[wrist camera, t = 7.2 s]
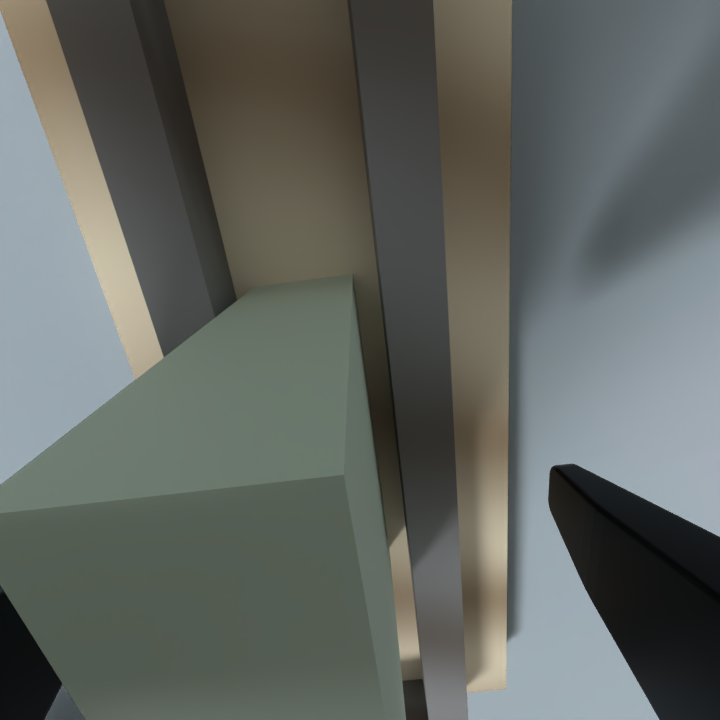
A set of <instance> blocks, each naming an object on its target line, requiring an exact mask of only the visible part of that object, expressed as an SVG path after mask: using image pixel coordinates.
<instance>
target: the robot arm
mask: <svg viewBox="0 0 720 720" xmlns="http://www.w3.org/2000/svg"><path fill="white" fill-rule="evenodd" d="M548 502H549V508H550V511H551V513H552V516H553V518H554V520H555V522H556V525H557V527H558V529H559V531H560V534H561V536H562V538H563V540H564V543H565V545H566V547H567V549H568V552H569V554H570V556H571V558H572V561H573V563H574V565H575V567H576V570H577V572H578V574H579V576H580V578H581V581H582V583H583V585H584V587H585V589H586V591H587V593H588V595H589V596H590V598H591V600H592V602H593V604H594V606H595V607H596V609H597V611H598V613H599V614H600V616H601V618H602V620H603V621H604V623H605V625H606V627H607V628H608V630H609V632H610V634H611V635H612V637H613V639H614V641H615V642H616V644H617V646H618V648H619V649H620V651H621V653H622V655H623V656H624V658H625V660H626V662H627V663H628V665H629V667H630V669H631V670H632V672H633V674H634V676H635V677H636V679H637V681H638V683H639V684H640V686H641V688H642V690H643V691H644V693H645V695H646V697H647V698H648V700H649V702H650V704H651V705H652V707H653V709H654V711H655V713H656V714H657V716H658V718H659V720H720V537H719V536H717V535H715V534H713V533H711V532H709V531H707V530H705V529H703V528H701V527H699V526H697V525H695V524H693V523H691V522H689V521H687V520H685V519H683V518H681V517H679V516H677V515H675V514H673V513H671V512H669V511H667V510H665V509H663V508H661V507H659V506H657V505H655V504H653V503H651V502H649V501H647V500H645V499H643V498H641V497H639V496H637V495H635V494H633V493H631V492H629V491H627V490H625V489H623V488H621V487H619V486H617V485H615V484H613V483H611V482H609V481H607V480H605V479H603V478H601V477H599V476H597V475H595V474H593V473H592V472H590V471H588V470H586V469H584V468H582V467H580V466H578V465H575V464H564V465H555V466H553V467H552V468H551V470H550V477H549V495H548ZM61 685H62V682H61V681H60V679H59V677H58V676H57V674H56V673H55V671H54V669H53V668H52V666H51V665H50V663H49V661H48V660H47V658H46V657H45V655H44V654H43V652H42V650H41V649H40V647H39V646H38V644H37V642H36V641H35V639H34V638H33V636H32V635H31V633H30V631H29V630H28V628H27V627H26V625H25V623H24V622H23V620H22V619H21V617H20V615H19V614H18V612H17V611H16V609H15V608H14V606H13V604H12V603H11V601H10V600H9V598H8V596H7V595H6V593H5V592H4V590H3V588H2V587H1V585H0V720H44V719H45V717H46V715H47V713H48V711H49V709H50V707H51V705H52V703H53V701H54V699H55V697H56V695H57V693H58V691H59V689H60V687H61Z"/></svg>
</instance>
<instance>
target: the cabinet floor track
mask: <svg viewBox="0 0 720 720" xmlns="http://www.w3.org/2000/svg"><path fill="white" fill-rule="evenodd" d="M0 11H1V14H2V17H3V19H4V22H5V25H6V28H7V30H8V33H9V36H10V39H11V41H12V44H13V47H14V49H15V52H16V55H17V58H18V60H19V63H20V66H21V69H22V71H23V74H24V77H25V80H26V82H27V85H28V88H29V90H30V93H31V96H32V99H33V101H34V104H35V107H36V110H37V112H38V115H39V118H40V121H41V123H42V126H43V129H44V131H45V134H46V137H47V140H48V142H49V145H50V148H51V151H52V153H53V156H54V159H55V162H56V164H57V167H58V170H59V172H60V175H61V178H62V181H63V183H64V186H65V189H66V192H67V194H68V197H69V200H70V202H71V205H72V208H73V211H74V213H75V216H76V219H77V222H78V224H79V227H80V230H81V233H82V235H83V238H84V241H85V243H86V246H87V249H88V252H89V254H90V257H91V260H92V263H93V265H94V268H95V271H96V274H97V276H98V279H99V282H100V284H101V287H102V290H103V293H104V295H105V298H106V301H107V304H108V306H109V309H110V312H111V315H112V317H113V320H114V323H115V325H116V328H117V331H118V334H119V336H120V339H121V342H122V345H123V347H124V350H125V353H126V356H127V358H128V361H129V364H130V366H131V369H132V372H133V375H134V377H135V380H136V379H137V378H138V377H140V376H141V375H142V374H143V373H145V372H146V371H147V370H149V369H150V368H151V367H152V366H154V365H155V364H156V363H158V362H159V361H160V360H161V359H163V358H164V357H165V356H167V355H168V354H169V353H170V352H172V351H173V350H174V349H176V348H177V347H178V346H179V345H181V344H182V343H183V342H185V341H186V340H187V339H188V338H190V337H191V336H192V335H194V334H195V333H196V332H197V331H199V330H200V329H201V328H202V327H204V326H205V325H206V324H208V323H209V322H210V321H211V320H213V319H214V318H215V317H217V316H218V315H219V314H220V313H222V312H223V311H224V310H226V309H227V308H228V307H229V306H231V305H232V304H233V303H235V302H236V301H237V300H238V299H240V298H241V297H242V296H244V295H245V294H246V293H247V292H249V291H250V290H251V289H253V288H254V287H257V286H265V285H272V284H280V283H288V282H295V281H303V280H311V279H318V278H326V277H333V276H341V275H349V274H353V279H354V287H355V294H356V302H357V309H358V317H359V324H360V332H361V339H362V347H363V354H364V362H365V370H366V377H367V385H368V392H369V400H370V407H371V415H372V422H373V430H374V437H375V445H376V452H377V460H378V467H379V475H380V483H381V490H382V498H383V505H384V513H385V520H386V528H387V535H388V543H389V551H390V561H391V572H392V582H393V592H394V602H395V612H396V622H397V633H398V643H399V653H400V663H401V673H402V683H403V694H404V704H405V714H406V720H468V707H467V693H470V692H481V691H492V690H503V689H506V644H507V530H508V415H509V300H510V185H511V70H512V0H0Z"/></svg>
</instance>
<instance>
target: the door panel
mask: <svg viewBox="0 0 720 720" xmlns="http://www.w3.org/2000/svg"><path fill="white" fill-rule="evenodd" d="M0 585H1V587H2V588H3V590H4V592H5V593H6V595H7V596H8V598H9V600H10V601H11V603H12V604H13V606H14V608H15V609H16V611H17V612H18V614H19V615H20V617H21V619H22V620H23V622H24V623H25V625H26V627H27V628H28V630H29V631H30V633H31V635H32V636H33V638H34V639H35V641H36V642H37V644H38V646H39V647H40V649H41V650H42V652H43V654H44V655H45V657H46V658H47V660H48V661H49V663H50V665H51V666H52V668H53V669H54V671H55V673H56V674H57V676H58V677H59V679H60V681H61V682H62V684H63V685H64V687H65V688H66V690H67V692H68V693H69V695H70V696H71V698H72V700H73V701H74V703H75V704H76V706H77V708H78V709H79V711H80V712H81V714H82V715H83V717H84V719H85V720H406V714H405V704H404V694H403V683H402V673H401V663H400V653H399V643H398V633H397V622H396V612H395V602H394V592H393V582H392V572H391V561H390V551H389V543H388V535H387V528H386V520H385V513H384V505H383V498H382V490H381V483H380V475H379V467H378V460H377V452H376V445H375V437H374V430H373V422H372V415H371V407H370V400H369V392H368V385H367V377H366V370H365V362H364V354H363V347H362V339H361V332H360V324H359V317H358V309H357V302H356V294H355V287H354V279H353V274H349V275H341V276H333V277H326V278H318V279H311V280H303V281H295V282H288V283H280V284H272V285H265V286H257V287H254V288H253V289H251V290H250V291H249V292H247V293H246V294H245V295H244V296H242V297H241V298H240V299H238V300H237V301H236V302H235V303H233V304H232V305H231V306H229V307H228V308H227V309H226V310H224V311H223V312H222V313H220V314H219V315H218V316H217V317H215V318H214V319H213V320H211V321H210V322H209V323H208V324H206V325H205V326H204V327H202V328H201V329H200V330H199V331H197V332H196V333H195V334H194V335H192V336H191V337H190V338H188V339H187V340H186V341H185V342H183V343H182V344H181V345H179V346H178V347H177V348H176V349H174V350H173V351H172V352H170V353H169V354H168V355H167V356H165V357H164V358H163V359H161V360H160V361H159V362H158V363H156V364H155V365H154V366H152V367H151V368H150V369H149V370H147V371H146V372H145V373H143V374H142V375H141V376H140V377H138V378H137V379H136V380H134V381H133V382H132V383H131V384H129V385H128V386H127V387H126V388H124V389H123V390H122V391H120V392H119V393H118V394H117V395H115V396H114V397H113V398H111V399H110V400H109V401H108V402H106V403H105V404H104V405H102V406H101V407H100V408H99V409H97V410H96V411H95V412H93V413H92V414H91V415H90V416H88V417H87V418H86V419H84V420H83V421H82V422H81V423H79V424H78V425H77V426H75V427H74V428H73V429H72V430H70V431H69V432H68V433H66V434H65V435H64V436H63V437H61V438H60V439H59V440H57V441H56V442H55V443H54V444H52V445H51V446H50V447H49V448H47V449H46V450H45V451H43V452H42V453H41V454H40V455H38V456H37V457H36V458H34V459H33V460H32V461H31V462H29V463H28V464H27V465H25V466H24V467H23V468H22V469H20V470H19V471H18V472H16V473H15V474H14V475H13V476H11V477H10V478H9V479H7V480H6V481H5V482H4V483H2V484H1V485H0Z"/></svg>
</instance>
